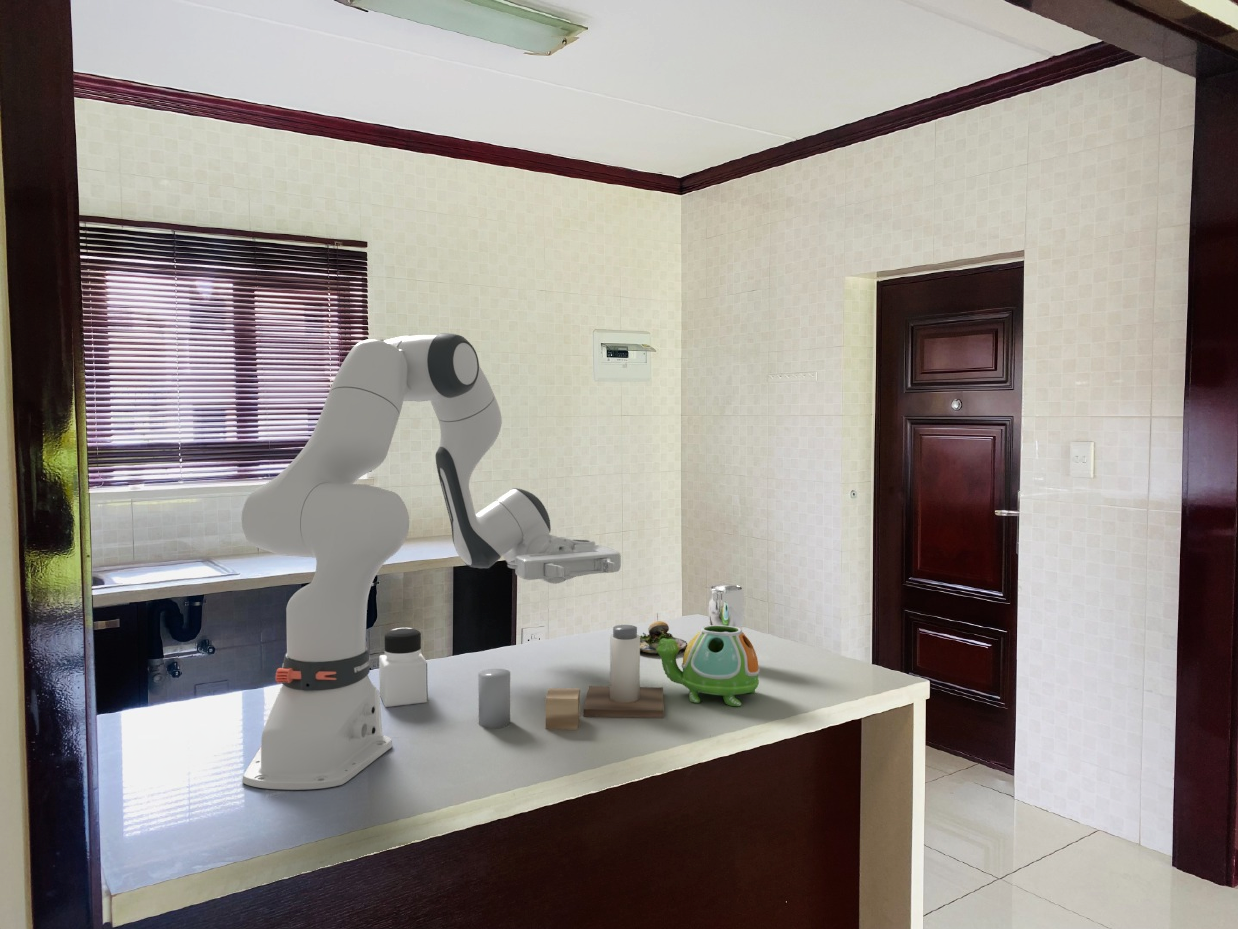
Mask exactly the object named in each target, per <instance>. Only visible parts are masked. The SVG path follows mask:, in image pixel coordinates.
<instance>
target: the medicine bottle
mask: <svg viewBox="0 0 1238 929" xmlns="http://www.w3.org/2000/svg"><path fill="white" fill-rule="evenodd" d="M421 634H422V633H421V632H420V630H418V629H416V628H413V627H398V628H393V629H391V630H389V631H386V633H385V634H384V635H383V636H384V654H380V655H379V658H378V662H379V664H378V666H379V667H378V668H379V669H378V670H379V677H378V678H379V694H380V699H381V700H382V703H383V705H384V707H385V708H391V707H401V706H409V705H416V704H417V705H418V704H425V703H426V704H427V702H428V699H429V698H428V661H427V660H426V658H425V656H423V654H422V635H421Z"/></svg>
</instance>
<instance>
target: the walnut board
mask: <svg viewBox="0 0 1238 929" xmlns="http://www.w3.org/2000/svg"><path fill="white" fill-rule="evenodd" d="M587 688H588V689H587V693H586V697H585V701H584V706H583V714H582V715H583V717H593V718H594V717H598V718H599V717H602V718H603V717H604V718H605V717H606V718H649V719H650V718H654V719H655V718H658V719H660V718H661V719H663V718H664V715H665V714H664V712H665V710H664V687H658V686H657V687H653V686H640V693H639V700H637V701H635V702H629V703H621V702H615V701H612V700H611V699H610V686H601V685H600V686H598V685H596V686H594V685H593V686H592V685H591V686H588V687H587Z"/></svg>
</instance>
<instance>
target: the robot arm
mask: <svg viewBox="0 0 1238 929" xmlns="http://www.w3.org/2000/svg"><path fill="white" fill-rule="evenodd" d="M326 397H327V398H326V400H325V402H324V405H323V408H322V410H321V413H320V415H319V418H318V420H317V423H316V425H315V427H314V429H313V432H312V434H311V436H310V438H309V439H308V441H306V442H307V443H306V444H305V446H304V447H303V448H302V450H301V451H300V452H299V453H298V454H297V456H296V457H295V458H294V459H293V460H292V461H291V463H289V465H287V467H286V468H285V469H284V470H282V471H281V472H280V473H279V474H278V475H276V476H275V477H273V479H271V480H269V481H268V482H266V483H265V484H263V485H261V486H258V487H256V488H255V489H254V490H253V491H252V492H251V493H250V494H249V495H248V497H247V498H246V500H245V502H244V504H243V508H242V511H241V527H242V532H243V533H244V535H245V538H246V540H247V541H248V542H249V543H250V544H251V545H252V546H253V547H256V548H258V549H260V550H263V551H266V552H269V553H273V554H275V555H279V556H283V557H284V556H285V557H297V558H299V557H300V558H312V559H313V558H314V559H315V560H316V566H315V571H314V574H313V578H312V581H311V582H310V583H308V584H306V585H305V586H302V587H301V588H299V589H298V590H297V591H296V592H295V593H294V594H293V595H292V596H291V597H290V598H289V600H288V602H287V605H286V608H285V610H286V618H285V619H286V653H285V654H284V658H283V663H282V666H281V667H279V668H277V669H276V672H275V676H274V678H275V681H276V683H278V684H282V685H281V687H280V688H279V692H278V694H277V696H276V699H275V700H274V703H273V706H272V707H271V710H270V713H269V715H268V717H267V720H266V722H265V725H264V728H263V730H262V733H261V741H260V742H261V743H260V744H261V745H260V747H259V748H258V750H257V751H256V753H255V755H254V756H253V758H252V759H251V761H250V763H249V765H248V766H247V767H246V769H245V770H244V772H243V774H242V781H241V782H242V784H243V785H244V784H245V785H247V786H250V787H255V788H261V789H270V790H288V791H289V790H293V791H294V790H296V791H297V790H317V789H318V790H319V789H327V788H333V787H338V786H341V785H344V784H345V783H347V782H349V781H350V780H351V779H352V778H353V777H355V776H357V775H358V774H359V773H360V772H361V771H363V770H364V769H366V768H367V767H368V766H369V765H370V764H371V763H373V762H375V761H376V760H377V759H379V758H380V757H381V756H382V755H383V754H385V753H386V752H387V751H389V750H390V749H391V748H392V747H393V740H392V738H391V737H389V736H387V735H384V734H383V724H382V710H381V709H382V708H381V696H380V689H378V688H377V687H376V686H375V685H374V683H372V681H371V679H370V678H369V674H370V670H371V669H370V668H371V667H370V664H371V657H370V650H369V648H368V647H367V613H368V612H367V610H368V600H369V594H370V590H371V587H372V584H373V582H374V579H375V577H376V576H377V574H378V573H379V571H380V569H381V568H382V566H383V565H384V564H385V563H386V562H387V561H388V560H389V559H390V558H392V557H393V556H394V555H396V554H397V553H398V552H399V550H400V549H401V548H402V546H403V545H404V543H405V542H406V539H407V536H408V534H409V530H410V516H409V512H408V509H407V506H406V504H405V502H404V500H403V499H402V497H401V495H399V494H398V493H396V492H394V491H392V490H388V489H385V488H381V487H377V486H375V485H374V486H373V485H369V484H360V483H358V484H357V483H355V482H356V481H357V480H359V479H360V478H361V477H364V476H365V475H366V474H369V473H370V472H373V471H375V470H376V469H377V468H378V467H379V466H381V465H382V464H383V463H384V461H385V460H386V458H387V457H388V456H387V455H388V452H389V449H390V446H391V444H392V440H393V437H394V434H395V431H396V427H397V424H398V421H399V418H400V415H401V413H402V412H401V411H402V408H403V404H404V402H428V401H430V403H431V406H432V408H433V411H434V413H435V415H436V418H437V420H438V423H439V429H440V443H439V446H438V449H437V450H436V452H435V466H436V469H437V474H438V475H437V476H438V479H439V482H440V483H439V484H440V487H441V490H442V491H441V492H442V495H443V499H444V503H445V506H446V510H447V515H448V517H449V521H450V526H451V536H452V542H453V545H454V548H455V552H456V553H457V555H458V557H459V558H460V559H461V561H462V562H463V563H464V564H465V565H466V566H468V567H470V568H477V569H490V568H491V567H492V566H493V565H494V564H495V563H497V562H498V561H499V560H500V559H501V558H502V557H503V559H504V560H505V562H506V563H507V564H506V566H507V568H509V569H513V570H515V572H514V573H515V575H516V576H517V577H518V578H521V579H523V580H527V581H534V580H540V581H543V582H546V583H550V584H561V583H563V582H565V581H568V580H571V579H574V578H577V577H581V576H588V575H594V574H598V575H599V574H605V573H606V574H611V573H618V572H619V571H620V570H621V566H622V555H621V553H620V551H618V550H615V549H612V548H609V547H606V546H603V545H599V544H598V545H597V544H596V542H595V541H594V540H588V539H570V538H567V537H564V536H563V537H562V536H557V535H553V534H550V533H551V528H552V526H551V520H550V519H551V518H550V516H549V513H548V511H547V509H546V507H545V506H544V504H543V502H542V501H541V499H539V498H538V497H537V496H536V495H535V494H533V493H532V492H530V491H528V490H525V489H522V488H516V487H515V488H511V489H510V490H508V491H507V492H505V493H503V494H501V495H500V496H499V497H497V498H496V499H495V500H493V502H491V503H490V504H488V505H487V506H485V507H484V508H482V509H481V510H479V511H477V512H476V511H475V507H474V503H473V499H472V495H471V491H470V480H471V477H472V475H473V472H474V470H475V469H476V467H477V466H478V464H479V463H480V462H481V460H482V458H483V457H484V456H485V455H486V454H487V452H488V451H489V450H490V449H491V448H492V446H493V445H494V443H495V442H496V441H497V439H498V436H499V435H500V432H501V429H502V422H503V421H502V419H503V418H502V412H501V410H500V409H501V408H500V406H499V403H498V401H497V399H496V396H495V394H494V392H493V389H492V387H491V385H490V383H489V381H488V378H487V377H486V374H485V373H484V371H483V369H482V368H481V366H480V363H479V357H478V354H477V352H476V350H475V348H474V346H473V344H471V342H470V341H469V340H467V339H466V338H465V337H464V336H462V335H459V334H455V333H449V332H447V333H446V332H443V333H439V334H417V335H415V334H407V335H401V336H397V337H393V338H389V339H365V340H361V341H360V342H358V343H356V344H355V345H354V346H352V348H351V350H350V351H349V352H348V354H347V355H346V357H345V359H344V360H343V362H342V364H341V365H340V367H339V369H338V371H337V373H336V375H335V377H334V379H333V381H332V384H331V387H330V389H329V391H328V394H327V396H326Z"/></svg>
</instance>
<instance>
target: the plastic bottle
mask: <svg viewBox="0 0 1238 929" xmlns="http://www.w3.org/2000/svg"><path fill="white" fill-rule="evenodd" d="M612 631H613V632H612V634H610V636H609V645H610V646H609V687H610V699H611V700H612V701H615V702H621V703H629V702H635V701H637V700H639V693H640V687H641V686H640V680H641V679H640V678H641V677H640V676H641V674H640V673H641V672H640V668H641V666H640V663H641V658H640V657H641V651H640V636H641V635H639V634H638V627H637V626H636V625H633V624H632V625H631V624H618V625H614V626H613V627H612Z"/></svg>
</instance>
